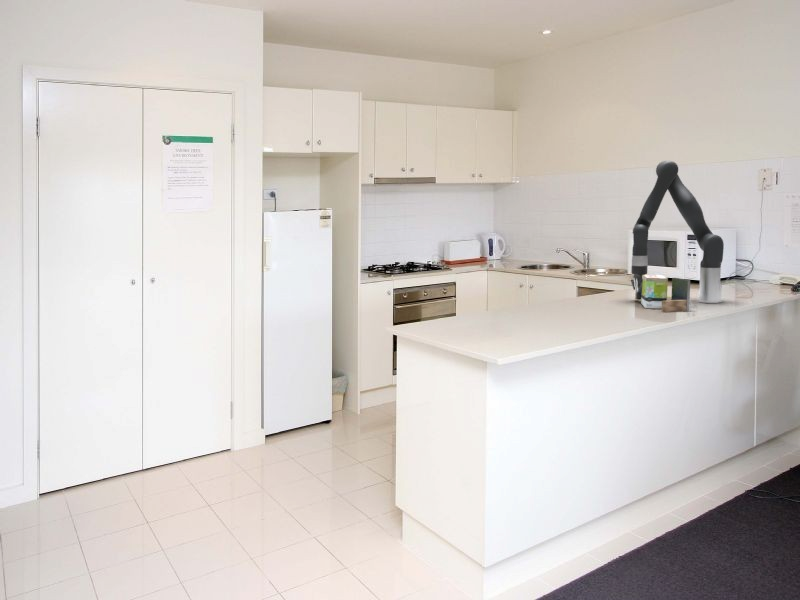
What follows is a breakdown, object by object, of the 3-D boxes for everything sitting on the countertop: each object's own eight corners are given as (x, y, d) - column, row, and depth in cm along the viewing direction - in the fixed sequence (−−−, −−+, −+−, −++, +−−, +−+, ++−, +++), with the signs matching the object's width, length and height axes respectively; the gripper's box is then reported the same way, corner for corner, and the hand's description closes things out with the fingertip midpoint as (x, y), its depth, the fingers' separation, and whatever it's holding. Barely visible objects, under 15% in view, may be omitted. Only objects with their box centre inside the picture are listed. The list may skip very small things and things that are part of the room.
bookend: (673, 306, 331) (674, 277, 329) (689, 310, 318) (690, 280, 316) (671, 307, 331) (672, 277, 329) (686, 311, 318) (687, 280, 316)
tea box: (667, 308, 326) (668, 277, 324) (644, 308, 328) (645, 277, 326) (662, 304, 340) (663, 274, 338) (640, 304, 342) (641, 274, 340)
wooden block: (685, 310, 320) (686, 299, 319) (687, 311, 318) (687, 300, 317) (661, 311, 318) (661, 300, 317) (663, 312, 316) (663, 301, 316)
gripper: (653, 265, 340) (652, 300, 342) (640, 263, 353) (639, 297, 355) (639, 266, 339) (638, 301, 341) (626, 263, 352) (625, 297, 354)
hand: (638, 299), depth 348 cm, fingers closed
